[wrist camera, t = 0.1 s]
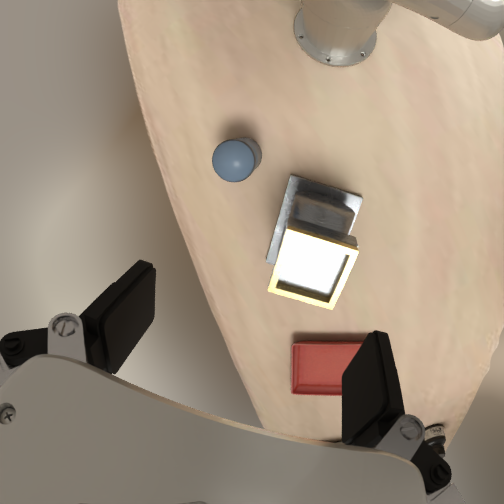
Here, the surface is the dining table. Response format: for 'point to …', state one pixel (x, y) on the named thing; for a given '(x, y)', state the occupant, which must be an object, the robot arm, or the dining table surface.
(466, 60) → the dining table surface
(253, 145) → the blue rounded cylinder
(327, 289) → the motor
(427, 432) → the ink bottle
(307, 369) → the plant saucer
